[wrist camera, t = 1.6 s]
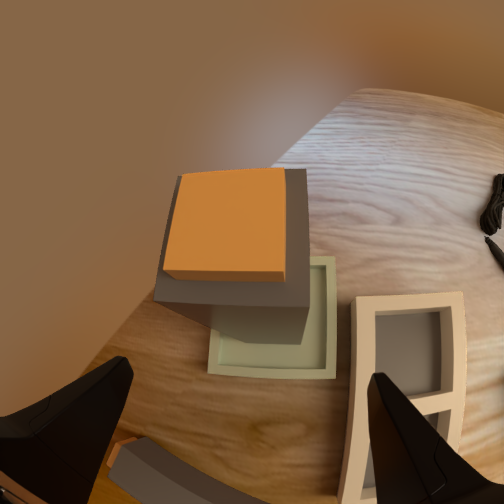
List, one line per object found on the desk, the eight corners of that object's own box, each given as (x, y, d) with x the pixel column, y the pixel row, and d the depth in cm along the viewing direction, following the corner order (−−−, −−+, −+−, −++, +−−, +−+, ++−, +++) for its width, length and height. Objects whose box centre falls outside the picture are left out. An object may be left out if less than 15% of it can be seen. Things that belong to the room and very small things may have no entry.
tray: (333, 377, 18) (335, 378, 17) (212, 372, 20) (207, 373, 18) (333, 262, 22) (334, 256, 20) (222, 262, 23) (218, 256, 22)
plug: (300, 344, 19) (311, 298, 6) (245, 342, 20) (137, 292, 6) (302, 291, 21) (305, 150, 7) (249, 290, 21) (168, 160, 8)
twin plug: (297, 511, 14) (296, 535, 10) (273, 538, 13) (268, 563, 9) (140, 430, 19) (113, 438, 15) (125, 460, 17) (99, 470, 14)
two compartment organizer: (437, 477, 12) (449, 486, 10) (336, 496, 14) (340, 509, 12) (447, 299, 19) (462, 291, 16) (349, 304, 20) (356, 296, 18)
